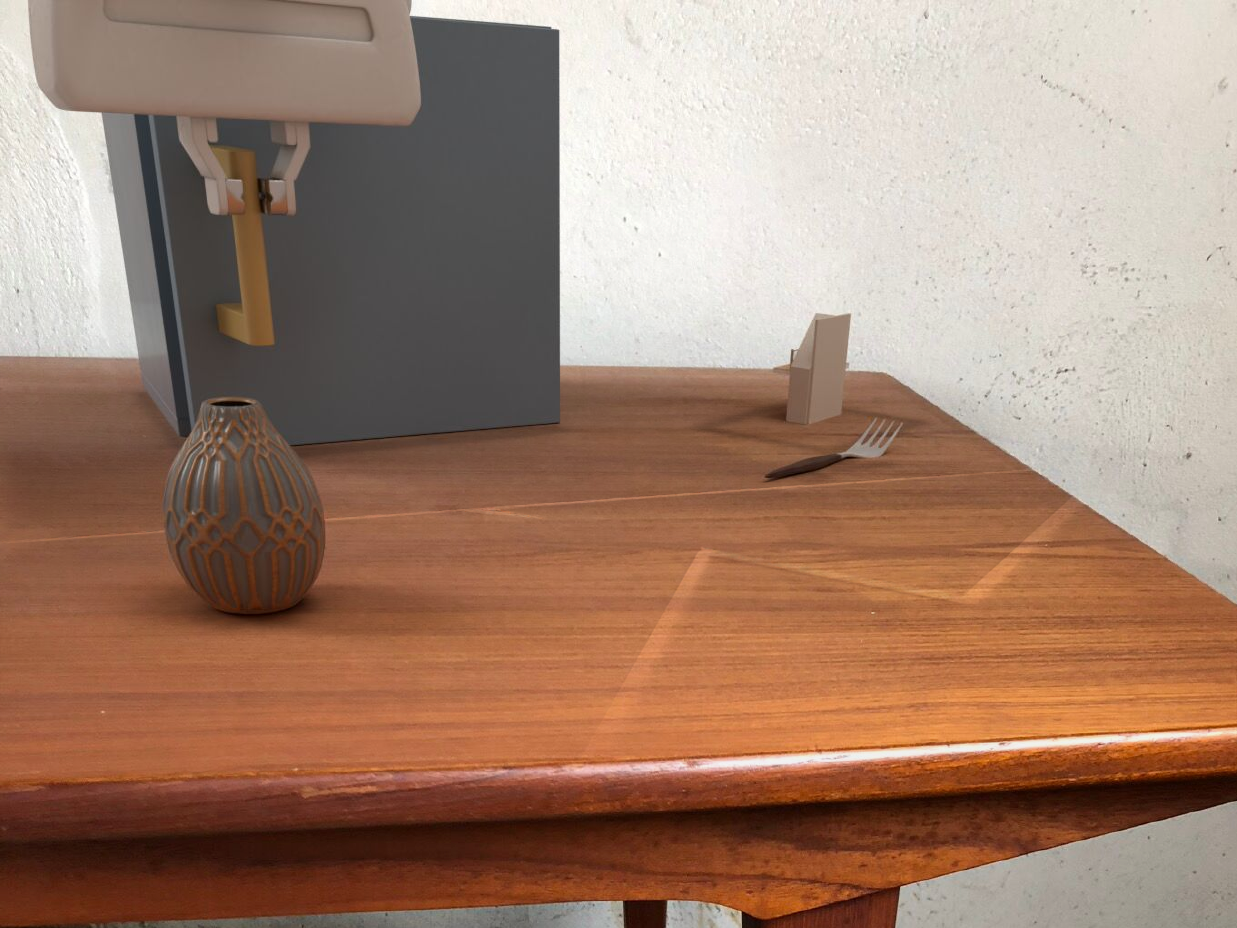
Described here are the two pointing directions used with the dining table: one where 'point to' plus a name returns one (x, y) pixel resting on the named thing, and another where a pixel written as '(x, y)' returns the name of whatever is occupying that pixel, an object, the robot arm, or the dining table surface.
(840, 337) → the architectural model
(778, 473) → the fork
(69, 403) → the dining table surface
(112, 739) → the dining table surface
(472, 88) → the cupboard door
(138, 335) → the cupboard
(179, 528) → the vase
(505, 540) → the dining table surface
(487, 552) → the dining table surface
